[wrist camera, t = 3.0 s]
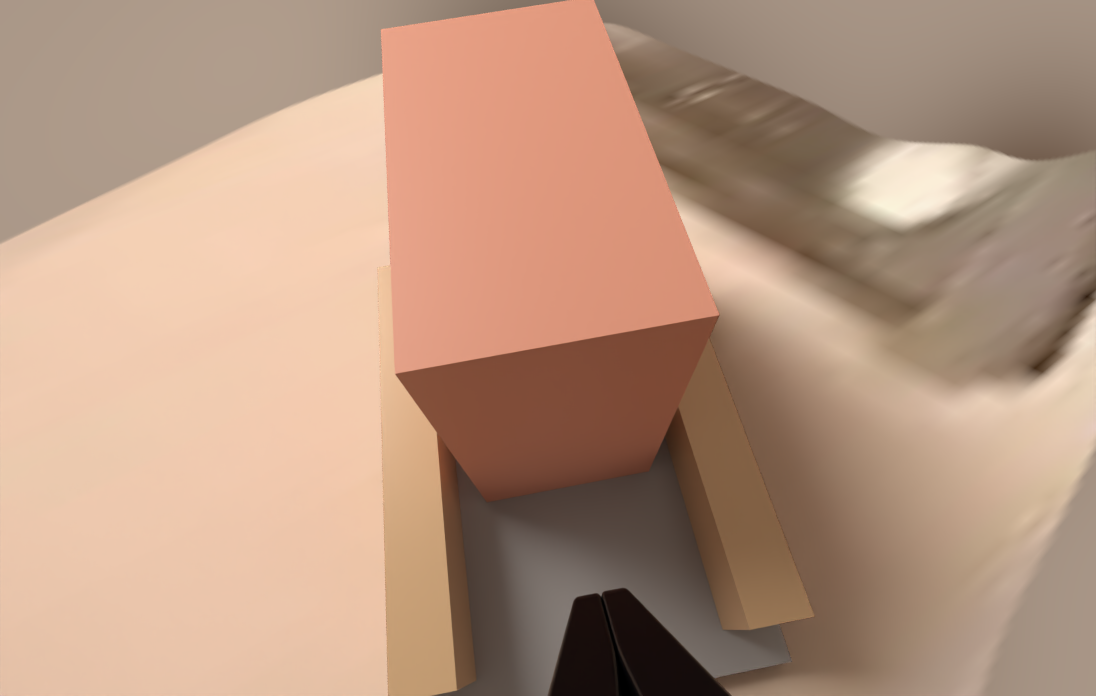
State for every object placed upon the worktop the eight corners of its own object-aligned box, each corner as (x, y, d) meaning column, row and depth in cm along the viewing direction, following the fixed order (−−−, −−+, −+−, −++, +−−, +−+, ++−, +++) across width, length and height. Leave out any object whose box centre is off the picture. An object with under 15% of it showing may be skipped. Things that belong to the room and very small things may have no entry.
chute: (784, 660, 14) (834, 668, 11) (427, 734, 14) (389, 761, 11) (582, 68, 26) (583, 4, 24) (393, 99, 26) (371, 37, 23)
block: (648, 471, 16) (719, 315, 8) (487, 502, 16) (394, 374, 8) (586, 244, 20) (592, -3, 12) (458, 266, 20) (380, 29, 12)
